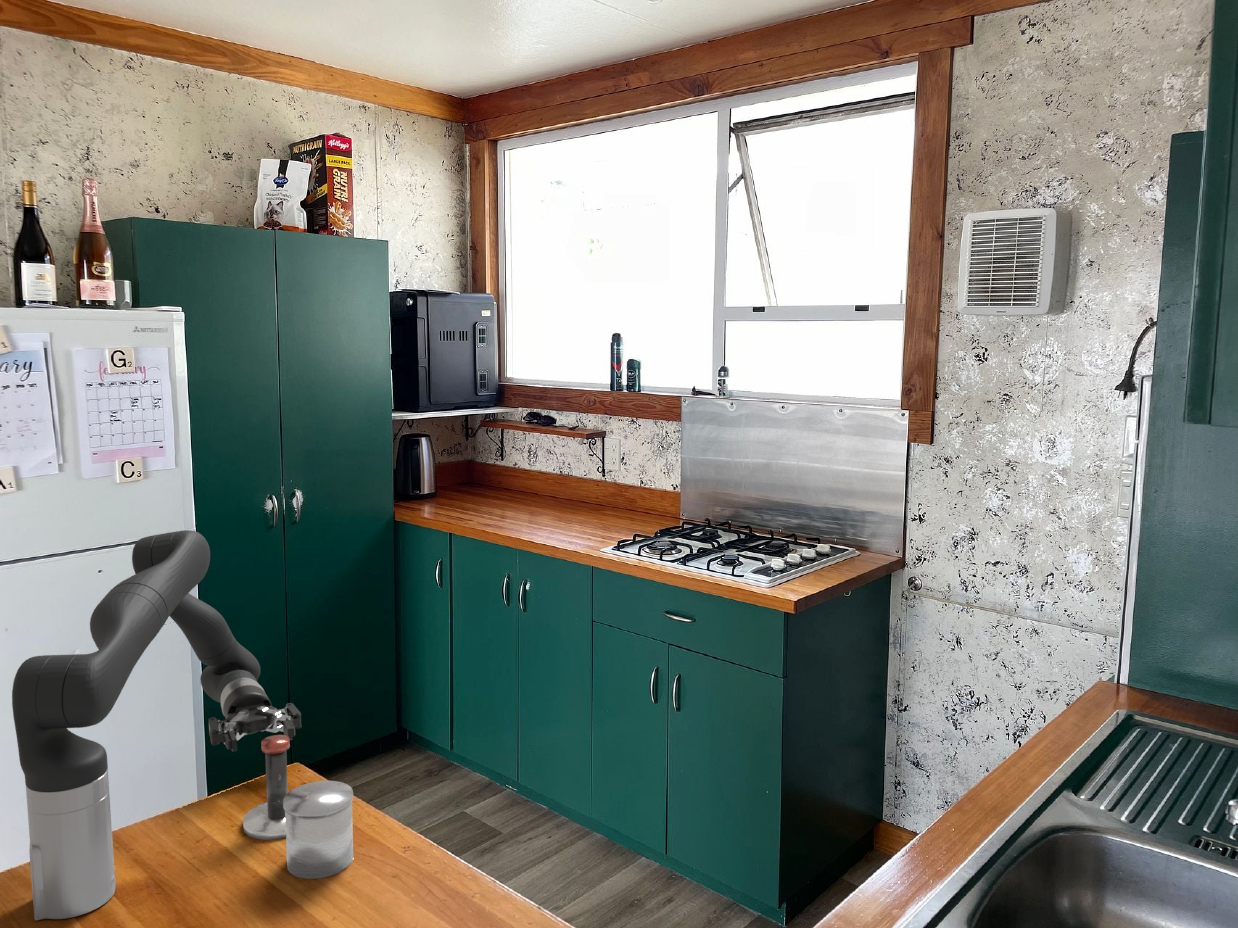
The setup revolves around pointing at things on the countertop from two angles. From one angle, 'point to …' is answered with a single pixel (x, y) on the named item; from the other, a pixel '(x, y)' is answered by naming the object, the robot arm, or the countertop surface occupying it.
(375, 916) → the countertop surface
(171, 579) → the robot arm
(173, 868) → the countertop surface
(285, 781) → the lid
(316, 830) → the pot
